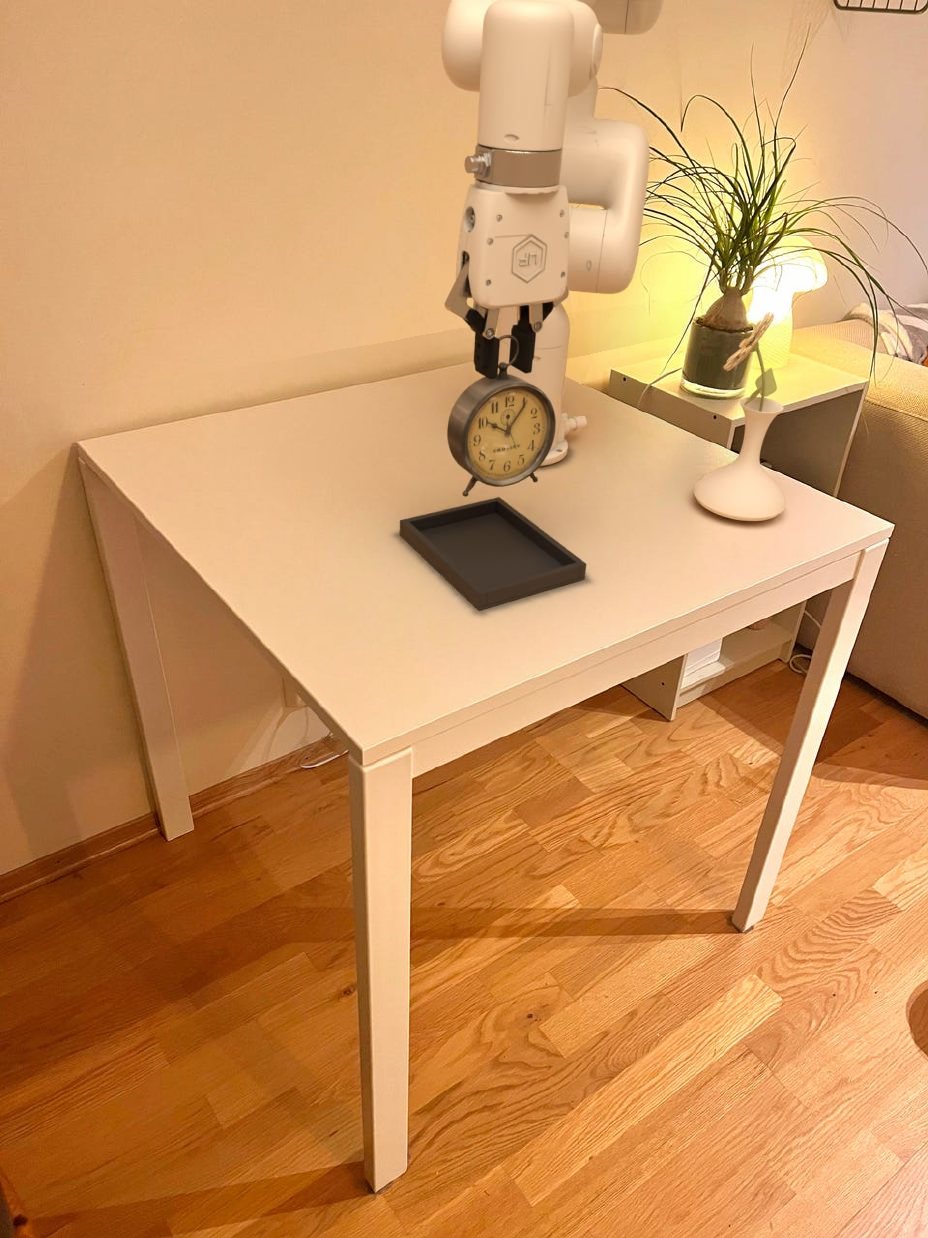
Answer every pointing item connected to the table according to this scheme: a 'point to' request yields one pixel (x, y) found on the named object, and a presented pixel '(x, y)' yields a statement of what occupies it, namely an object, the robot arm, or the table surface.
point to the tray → (491, 552)
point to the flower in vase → (747, 452)
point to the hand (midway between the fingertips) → (503, 370)
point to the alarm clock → (501, 429)
